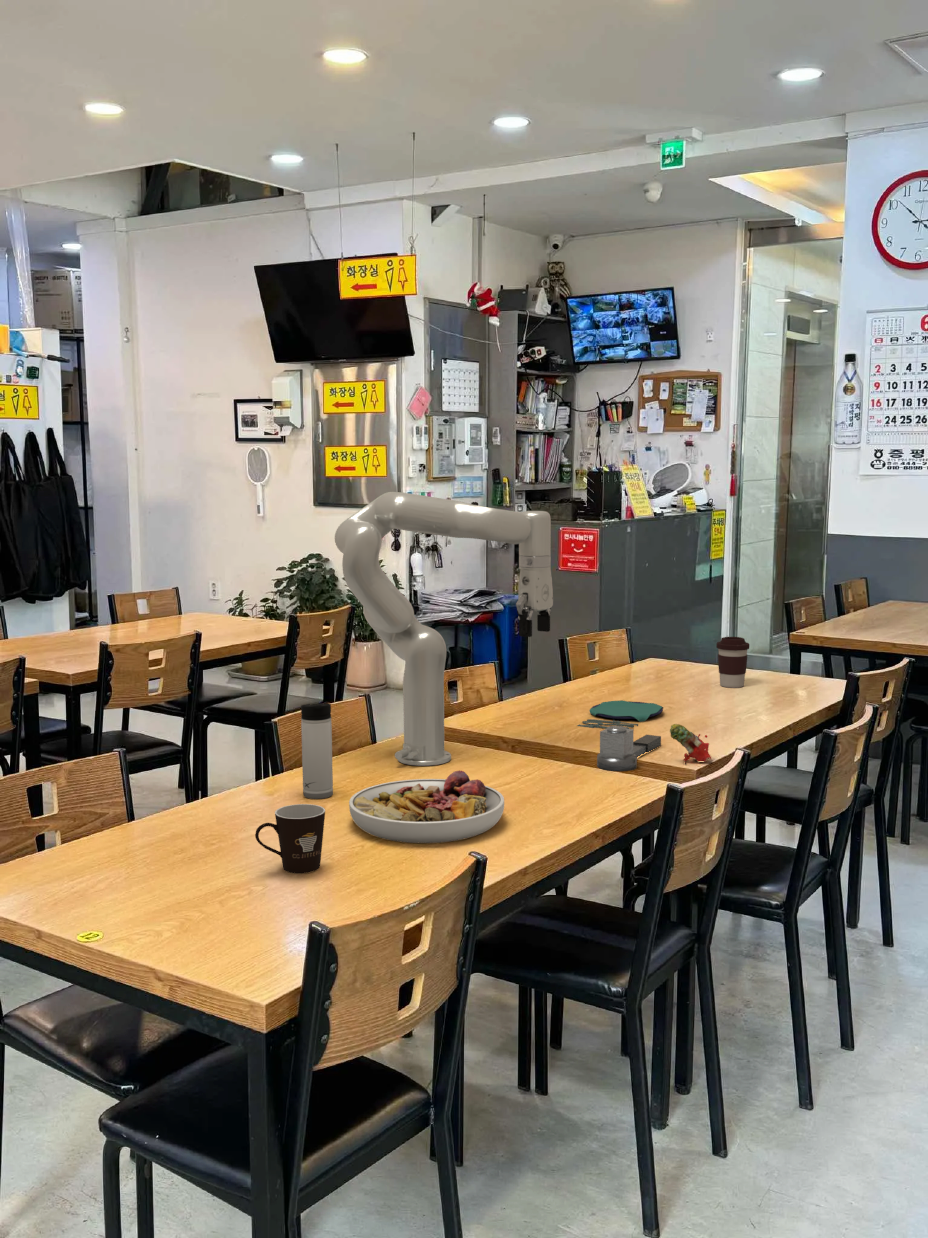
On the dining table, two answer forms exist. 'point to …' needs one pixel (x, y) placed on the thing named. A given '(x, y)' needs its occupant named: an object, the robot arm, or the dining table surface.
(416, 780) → the bowl
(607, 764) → the ratchet
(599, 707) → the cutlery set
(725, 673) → the coffee cup
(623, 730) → the socket
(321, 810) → the coffee mug
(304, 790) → the travel mug
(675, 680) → the dining table surface
